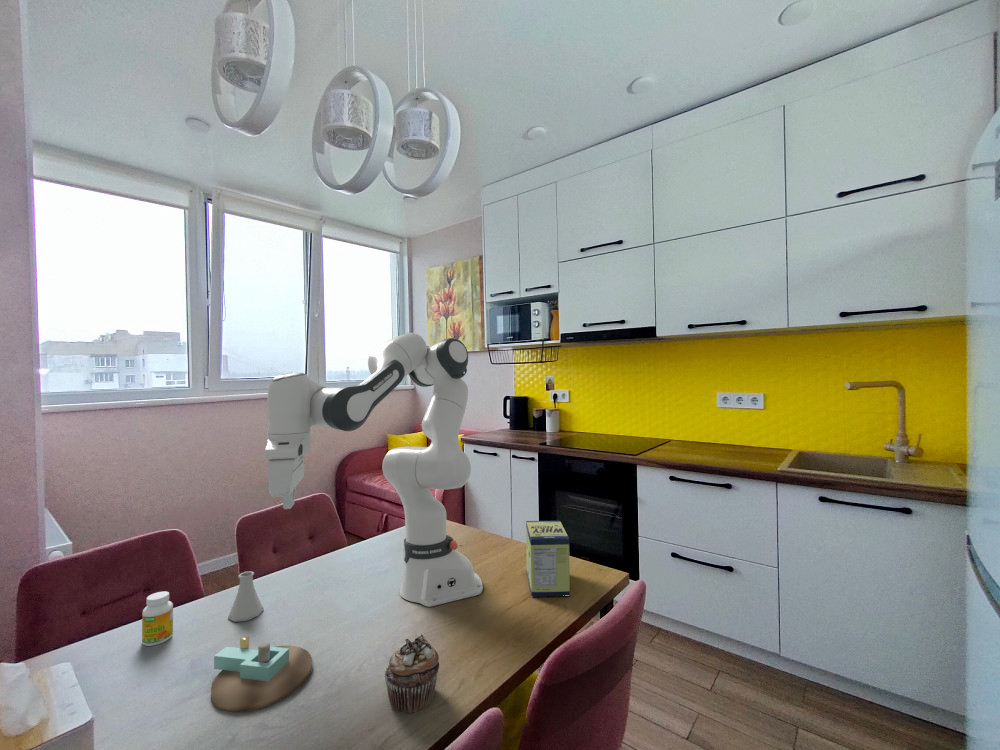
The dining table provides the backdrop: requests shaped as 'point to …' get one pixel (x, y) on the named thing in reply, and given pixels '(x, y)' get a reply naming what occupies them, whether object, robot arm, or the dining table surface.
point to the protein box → (547, 558)
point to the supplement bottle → (157, 619)
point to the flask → (245, 600)
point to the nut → (251, 662)
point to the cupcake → (412, 675)
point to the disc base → (261, 682)
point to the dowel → (244, 642)
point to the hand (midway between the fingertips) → (288, 507)
